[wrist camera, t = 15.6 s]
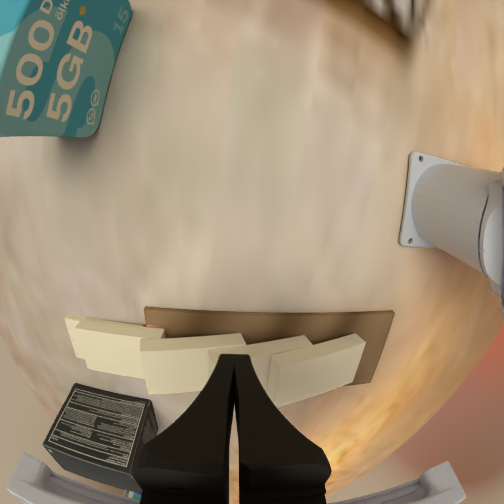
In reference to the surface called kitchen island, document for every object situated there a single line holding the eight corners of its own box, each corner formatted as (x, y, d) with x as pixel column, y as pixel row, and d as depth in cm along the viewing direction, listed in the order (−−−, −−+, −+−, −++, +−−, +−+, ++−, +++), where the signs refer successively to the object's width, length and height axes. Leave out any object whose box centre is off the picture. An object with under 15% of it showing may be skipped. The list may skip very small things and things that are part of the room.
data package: (98, 138, 18) (-15, 137, 7) (56, 136, 18) (-52, 141, 7) (136, 7, 15) (71, -67, 3) (92, 12, 14) (17, -43, 3)
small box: (87, 413, 29) (62, 470, 19) (73, 381, 27) (38, 442, 17) (159, 430, 29) (144, 497, 19) (151, 398, 27) (129, 474, 17)
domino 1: (140, 330, 23) (64, 318, 23) (148, 370, 25) (76, 357, 24) (145, 320, 25) (71, 310, 24) (152, 360, 26) (82, 348, 26)
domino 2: (160, 339, 21) (74, 327, 21) (167, 381, 23) (88, 368, 23) (164, 328, 23) (81, 318, 23) (170, 370, 25) (93, 359, 24)
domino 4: (313, 345, 22) (211, 363, 20) (303, 386, 24) (213, 404, 21) (304, 334, 24) (207, 350, 21) (296, 375, 25) (209, 392, 23)
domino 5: (366, 342, 23) (280, 367, 20) (352, 382, 24) (273, 408, 21) (355, 333, 24) (271, 355, 21) (343, 372, 26) (266, 396, 23)
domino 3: (246, 343, 22) (139, 351, 20) (242, 385, 24) (148, 394, 21) (240, 332, 24) (140, 339, 21) (237, 374, 25) (148, 382, 23)
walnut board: (392, 310, 24) (395, 313, 24) (368, 379, 27) (370, 383, 26) (145, 306, 23) (143, 309, 23) (158, 380, 26) (157, 384, 25)
